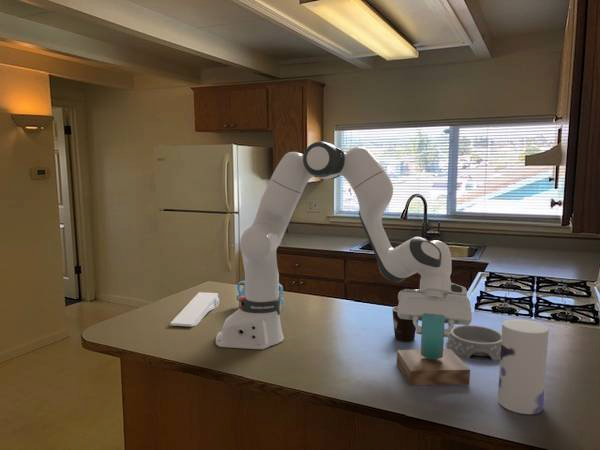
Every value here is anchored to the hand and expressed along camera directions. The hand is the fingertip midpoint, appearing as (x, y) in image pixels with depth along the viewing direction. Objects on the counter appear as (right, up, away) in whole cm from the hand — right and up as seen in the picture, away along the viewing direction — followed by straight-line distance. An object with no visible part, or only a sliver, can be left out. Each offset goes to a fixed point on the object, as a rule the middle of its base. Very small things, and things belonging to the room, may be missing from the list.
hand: (432, 334), depth 130 cm
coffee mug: (-1, -8, +30) cm, 31 cm away
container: (+17, -14, -15) cm, 27 cm away
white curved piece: (-77, -5, +52) cm, 92 cm away
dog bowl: (+19, -9, +20) cm, 29 cm away
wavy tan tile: (0, -11, +2) cm, 11 cm away
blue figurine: (-53, -4, +60) cm, 80 cm away
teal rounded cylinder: (0, -6, +1) cm, 6 cm away
